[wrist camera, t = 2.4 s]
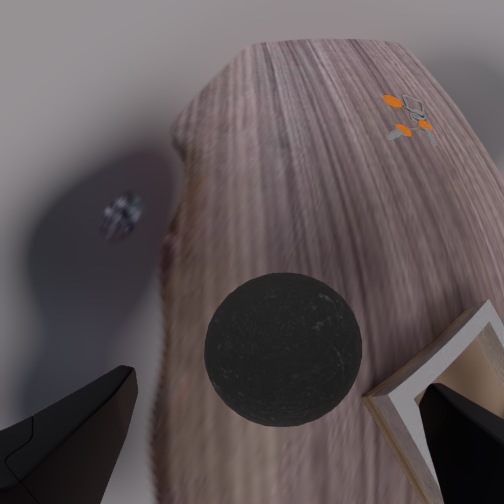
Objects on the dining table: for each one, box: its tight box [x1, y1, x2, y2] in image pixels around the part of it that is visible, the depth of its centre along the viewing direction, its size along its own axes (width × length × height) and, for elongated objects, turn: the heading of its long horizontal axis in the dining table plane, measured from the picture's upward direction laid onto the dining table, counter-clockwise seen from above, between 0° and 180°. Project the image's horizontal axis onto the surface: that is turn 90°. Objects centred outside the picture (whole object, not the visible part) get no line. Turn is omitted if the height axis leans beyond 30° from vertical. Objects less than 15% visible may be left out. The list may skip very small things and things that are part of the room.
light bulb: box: [204, 273, 362, 427], centre depth 13 cm, size 6×6×10 cm
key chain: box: [383, 94, 437, 146], centre depth 31 cm, size 13×7×1 cm, turn 162°
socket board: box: [361, 306, 504, 504], centre depth 15 cm, size 11×11×1 cm
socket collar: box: [372, 299, 504, 504], centre depth 14 cm, size 11×11×2 cm
